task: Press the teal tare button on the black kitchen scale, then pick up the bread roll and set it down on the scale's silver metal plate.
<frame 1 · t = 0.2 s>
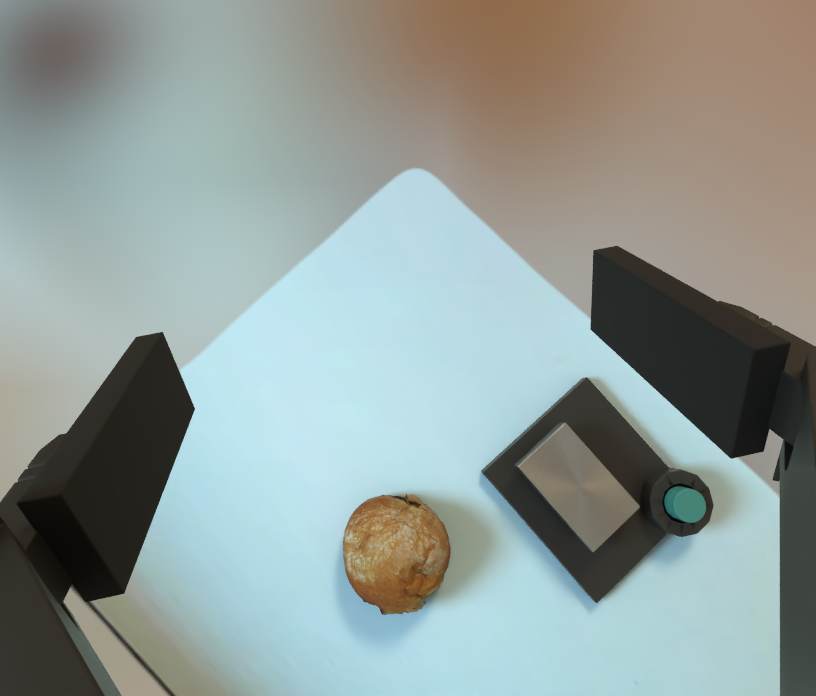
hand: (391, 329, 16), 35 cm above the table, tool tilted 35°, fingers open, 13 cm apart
silver metal plate: (562, 480, 50), resting on scale
tare button: (684, 504, 47), point 3 cm above the table, slide at 0.1 cm
bread roll: (396, 547, 49), on the table
scale: (587, 485, 50), on the table
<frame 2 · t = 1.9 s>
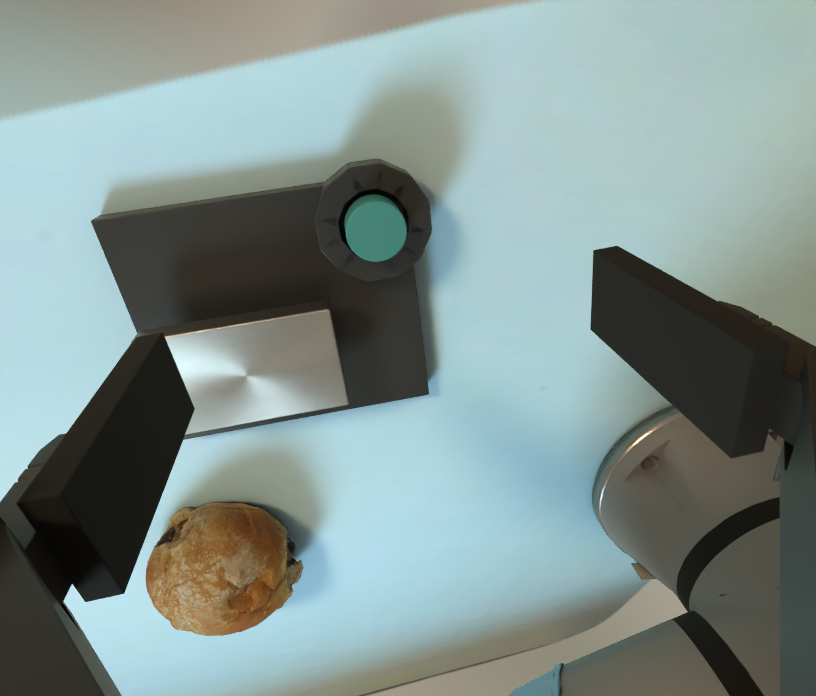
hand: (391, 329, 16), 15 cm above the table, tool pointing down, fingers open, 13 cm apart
silver metal plate: (256, 339, 31), resting on scale
tare button: (375, 227, 26), point 3 cm above the table, slide at 0.1 cm
bread roll: (233, 543, 39), on the table
scale: (283, 311, 31), on the table
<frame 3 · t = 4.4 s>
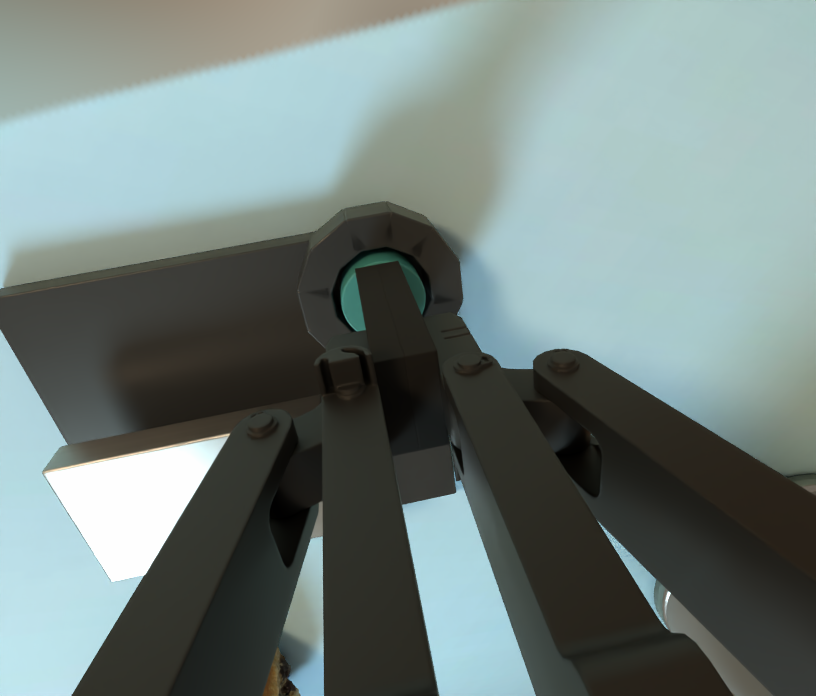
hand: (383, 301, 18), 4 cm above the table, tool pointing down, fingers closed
silver metal plate: (229, 433, 24), resting on scale
tare button: (381, 293, 19), point 3 cm above the table, slide at -0.7 cm, touching gripper
bread roll: (214, 664, 31), on the table
scale: (263, 398, 23), on the table
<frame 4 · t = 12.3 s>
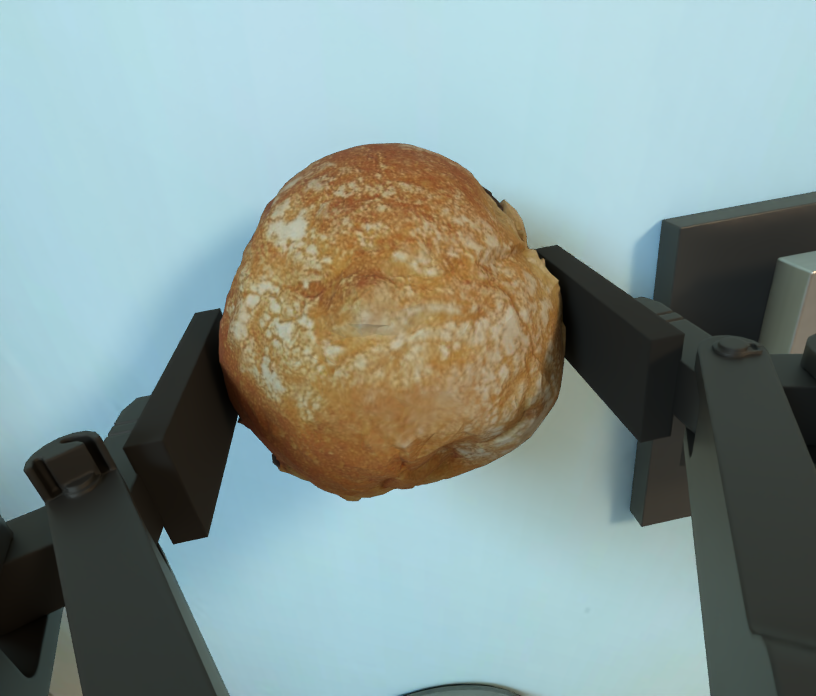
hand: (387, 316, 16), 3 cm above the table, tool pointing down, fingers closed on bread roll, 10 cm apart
silver metal plate: (762, 328, 23), resting on scale
bread roll: (384, 314, 17), point 3 cm above the table, touching gripper
scale: (783, 360, 24), on the table
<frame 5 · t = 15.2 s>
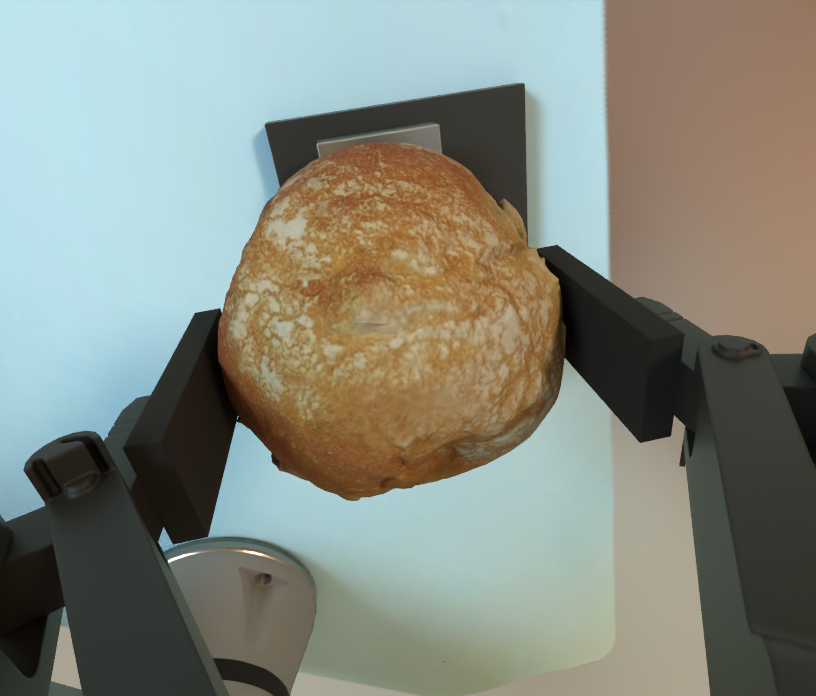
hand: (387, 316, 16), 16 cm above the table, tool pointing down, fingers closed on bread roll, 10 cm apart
silver metal plate: (384, 215, 31), resting on scale
bread roll: (383, 313, 17), point 15 cm above the table, touching gripper
scale: (412, 243, 32), on the table
when the fingers open (5 cm above the table, at t = 18.3 s): bread roll stays where it is, resting on silver metal plate.
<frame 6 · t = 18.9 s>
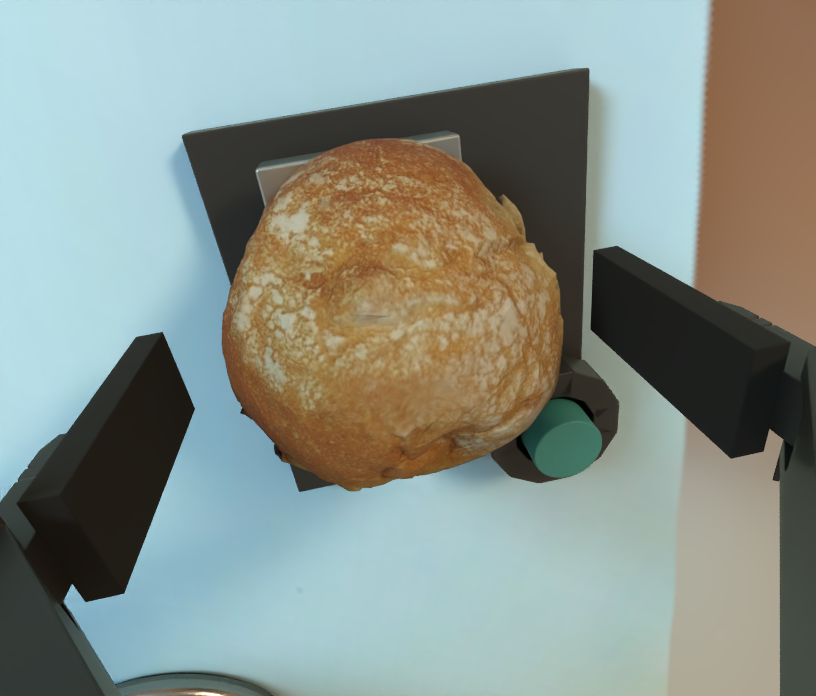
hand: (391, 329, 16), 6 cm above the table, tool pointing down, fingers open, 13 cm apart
silver metal plate: (374, 265, 21), resting on scale
tare button: (560, 438, 22), point 3 cm above the table, slide at 0.1 cm
bread roll: (384, 308, 17), point 4 cm above the table, touching silver metal plate
scale: (416, 303, 22), on the table
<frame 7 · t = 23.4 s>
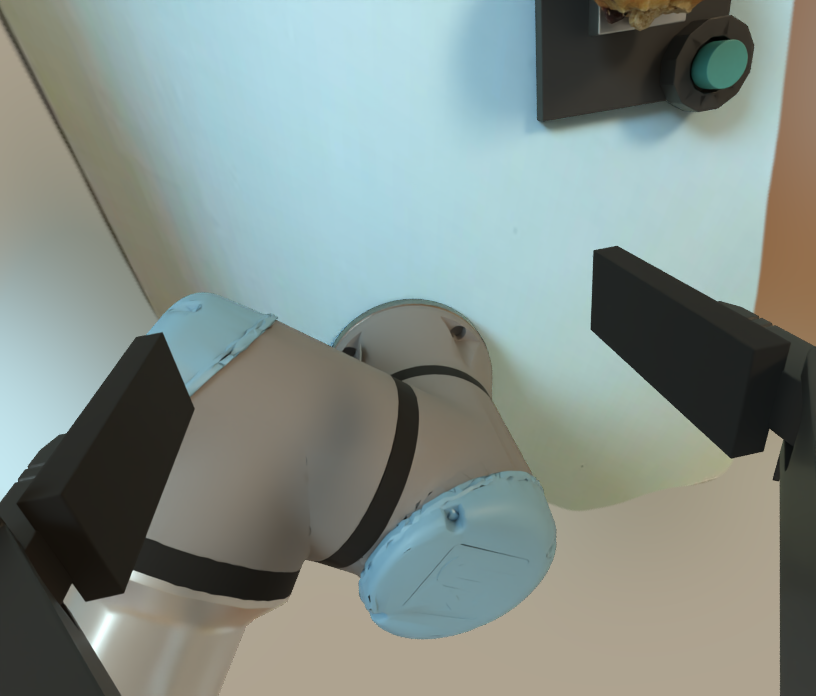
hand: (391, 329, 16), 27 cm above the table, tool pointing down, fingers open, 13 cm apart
tare button: (718, 65, 36), point 3 cm above the table, slide at 0.1 cm
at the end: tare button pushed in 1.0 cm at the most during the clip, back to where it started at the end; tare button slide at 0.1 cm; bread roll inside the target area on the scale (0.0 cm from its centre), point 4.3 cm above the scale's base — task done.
